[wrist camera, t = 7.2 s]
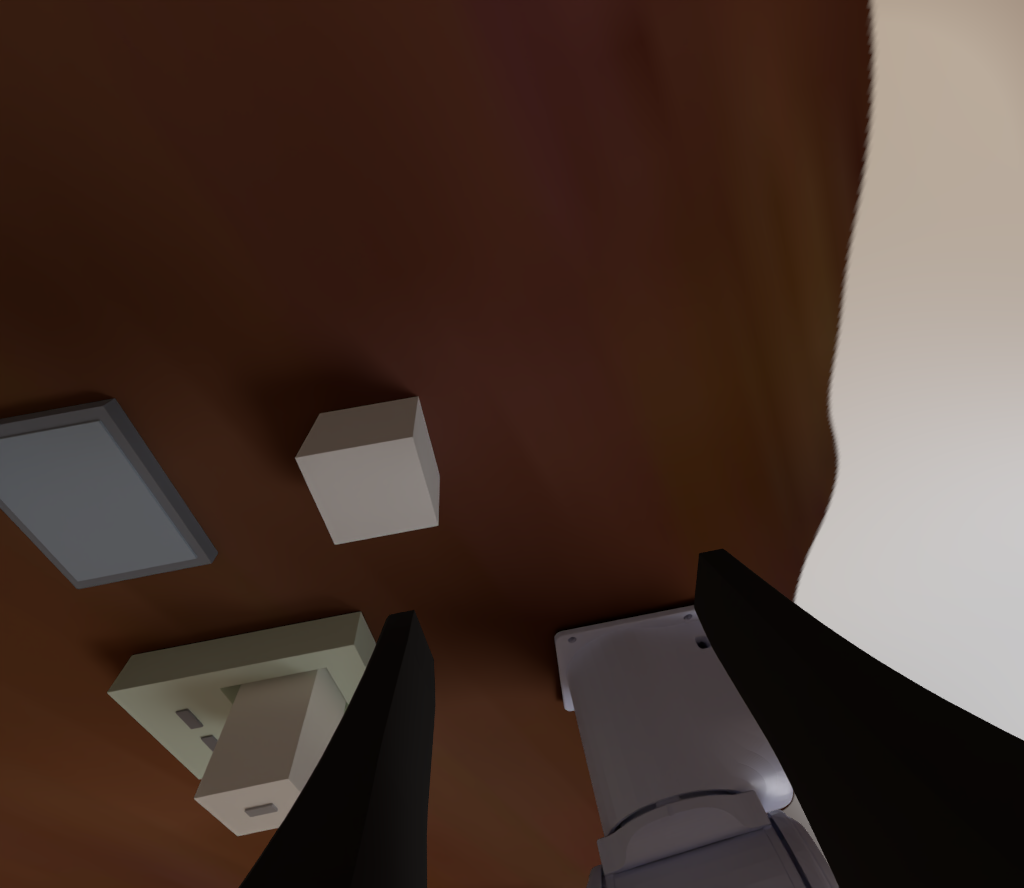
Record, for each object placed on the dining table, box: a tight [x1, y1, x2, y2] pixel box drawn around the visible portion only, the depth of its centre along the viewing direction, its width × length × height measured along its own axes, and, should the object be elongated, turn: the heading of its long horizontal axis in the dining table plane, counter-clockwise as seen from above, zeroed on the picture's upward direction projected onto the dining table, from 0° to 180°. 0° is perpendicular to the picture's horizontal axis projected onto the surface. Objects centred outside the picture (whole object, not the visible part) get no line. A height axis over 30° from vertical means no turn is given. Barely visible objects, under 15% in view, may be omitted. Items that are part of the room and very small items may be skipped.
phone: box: [0, 398, 218, 589], centre depth 19 cm, size 6×8×1 cm
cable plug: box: [295, 396, 440, 545], centre depth 18 cm, size 5×4×4 cm
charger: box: [194, 667, 346, 836], centre depth 22 cm, size 4×4×6 cm
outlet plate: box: [107, 611, 376, 779], centre depth 25 cm, size 12×9×2 cm
